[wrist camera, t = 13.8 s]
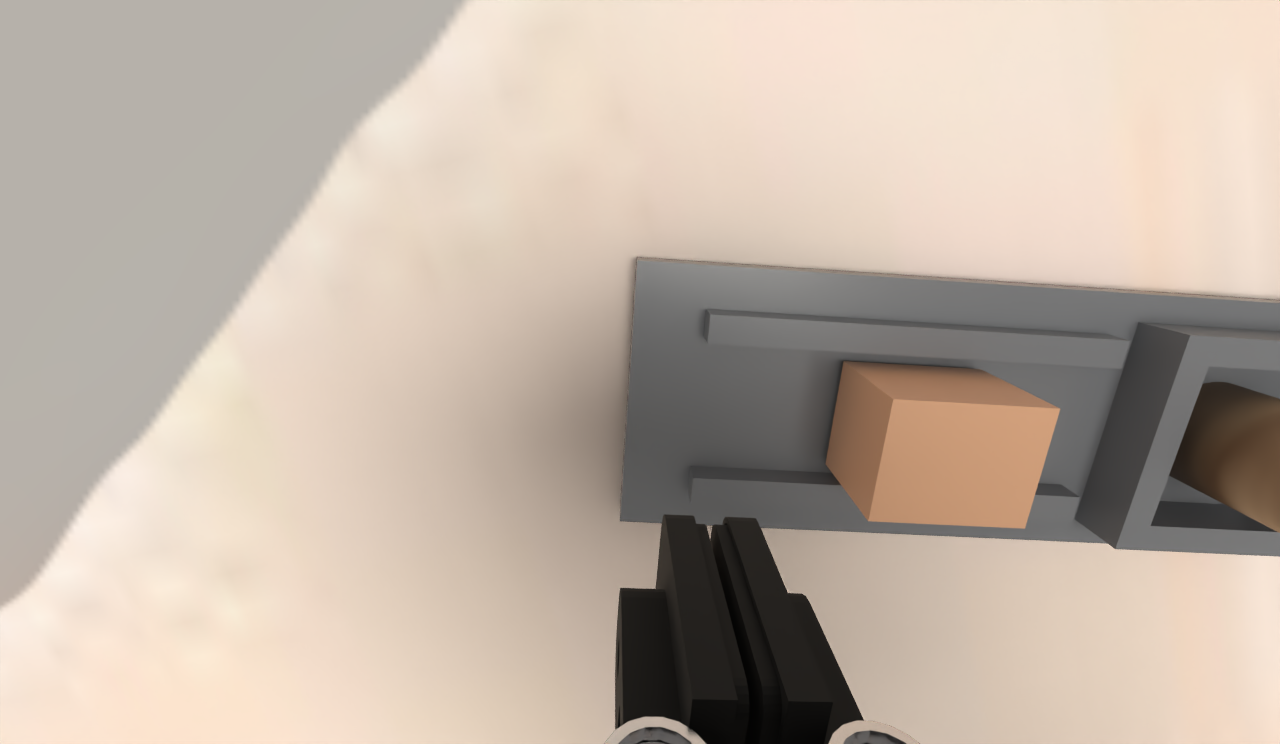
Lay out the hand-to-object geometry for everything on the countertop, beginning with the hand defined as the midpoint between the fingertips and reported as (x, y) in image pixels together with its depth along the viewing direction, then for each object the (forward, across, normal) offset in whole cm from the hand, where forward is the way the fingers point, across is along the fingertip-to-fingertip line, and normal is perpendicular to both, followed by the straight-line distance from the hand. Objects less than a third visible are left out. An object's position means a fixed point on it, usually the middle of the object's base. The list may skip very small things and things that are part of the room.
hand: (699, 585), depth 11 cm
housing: (+12, -13, +1) cm, 18 cm away
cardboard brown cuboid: (+11, -9, +1) cm, 14 cm away
